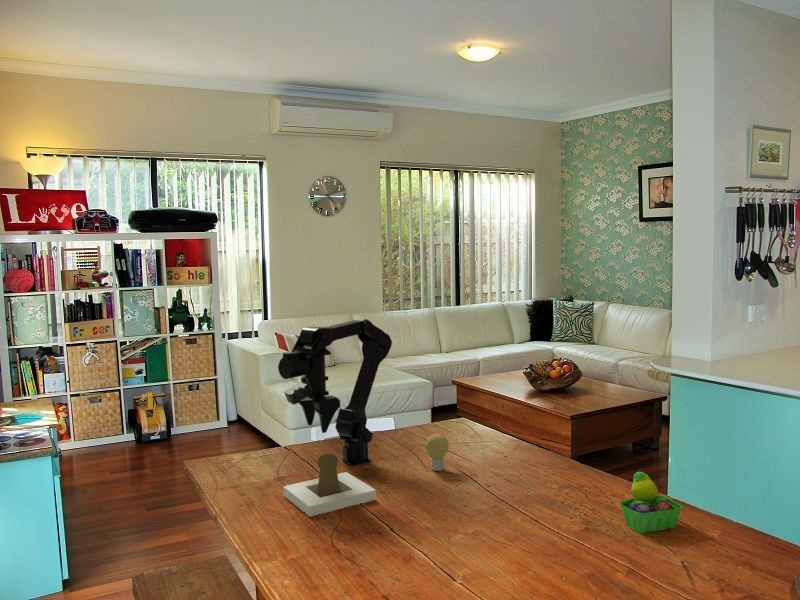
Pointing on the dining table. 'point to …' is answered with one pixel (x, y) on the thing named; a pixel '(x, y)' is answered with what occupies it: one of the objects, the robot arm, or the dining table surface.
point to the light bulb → (437, 450)
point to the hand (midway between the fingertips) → (316, 428)
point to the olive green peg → (328, 475)
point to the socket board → (314, 505)
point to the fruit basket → (649, 507)
